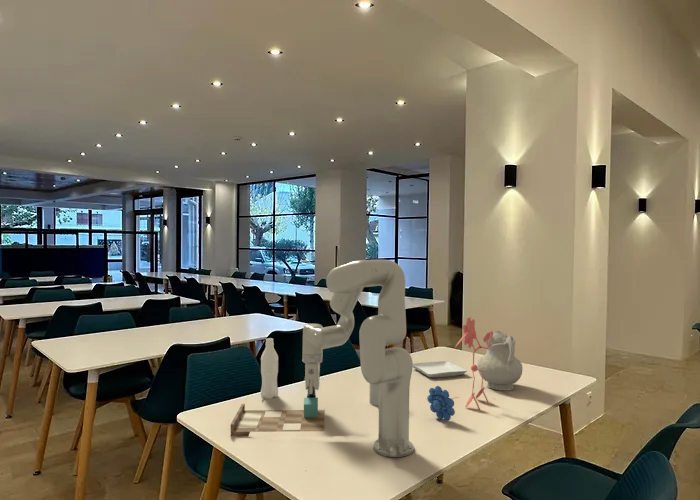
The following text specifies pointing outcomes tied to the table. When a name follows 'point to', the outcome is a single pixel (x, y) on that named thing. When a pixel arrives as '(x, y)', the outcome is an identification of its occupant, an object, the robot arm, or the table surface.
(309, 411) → the block
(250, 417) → the board
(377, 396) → the cup
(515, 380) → the ceramic pitcher
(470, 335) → the pink stick figure
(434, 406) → the grapes
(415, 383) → the table surface
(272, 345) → the water bottle
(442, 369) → the salad plate
